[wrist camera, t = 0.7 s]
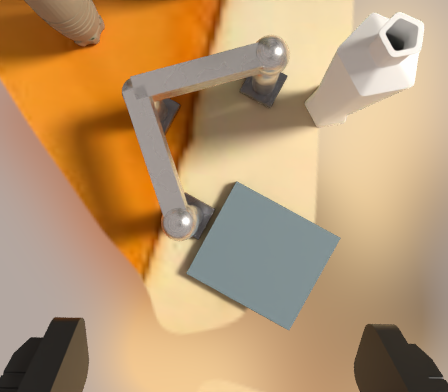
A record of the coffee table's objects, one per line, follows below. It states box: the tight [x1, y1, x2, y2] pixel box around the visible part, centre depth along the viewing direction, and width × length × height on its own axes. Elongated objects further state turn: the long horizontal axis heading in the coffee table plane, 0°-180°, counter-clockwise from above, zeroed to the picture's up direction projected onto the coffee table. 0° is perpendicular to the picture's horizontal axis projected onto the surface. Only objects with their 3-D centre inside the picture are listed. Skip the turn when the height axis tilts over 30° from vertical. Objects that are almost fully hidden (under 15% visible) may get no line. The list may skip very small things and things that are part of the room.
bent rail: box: [122, 35, 290, 241], centre depth 29 cm, size 16×10×8 cm, turn 151°
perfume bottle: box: [305, 12, 424, 128], centre depth 26 cm, size 5×4×15 cm
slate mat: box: [186, 182, 340, 330], centre depth 33 cm, size 9×10×1 cm
